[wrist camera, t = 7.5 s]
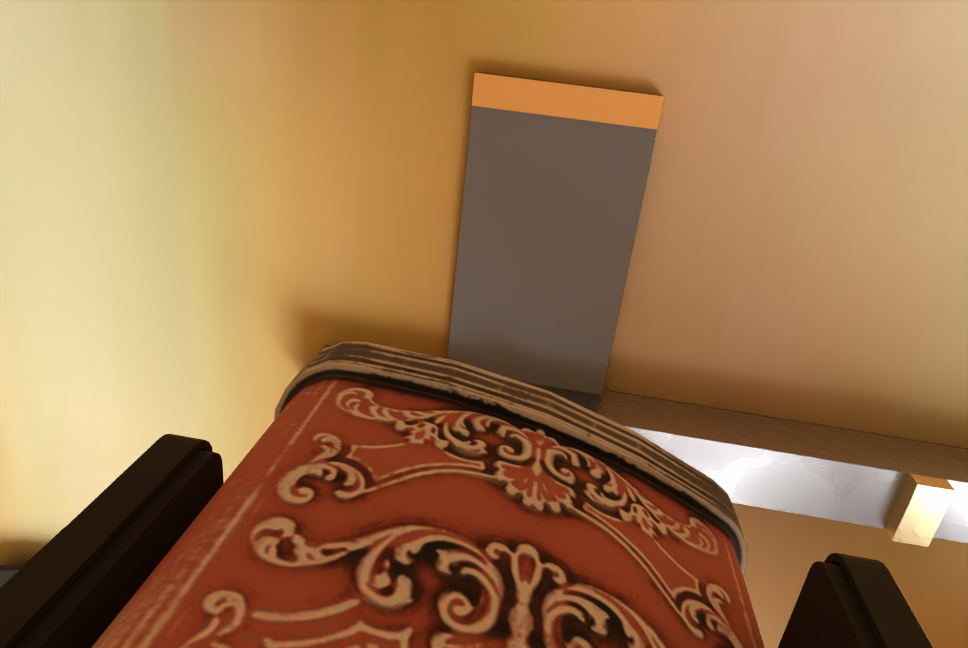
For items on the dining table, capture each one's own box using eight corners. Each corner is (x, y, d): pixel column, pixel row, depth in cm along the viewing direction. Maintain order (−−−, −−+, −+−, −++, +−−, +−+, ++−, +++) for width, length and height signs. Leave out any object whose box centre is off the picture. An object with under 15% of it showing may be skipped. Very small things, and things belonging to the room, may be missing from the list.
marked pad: (662, 95, 21) (664, 96, 21) (600, 394, 26) (600, 400, 25) (476, 72, 22) (474, 73, 21) (447, 369, 26) (445, 375, 26)
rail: (1126, 474, 24) (1196, 531, 21) (1095, 526, 25) (1157, 587, 22) (324, 344, 26) (294, 380, 24) (323, 397, 27) (295, 437, 25)
